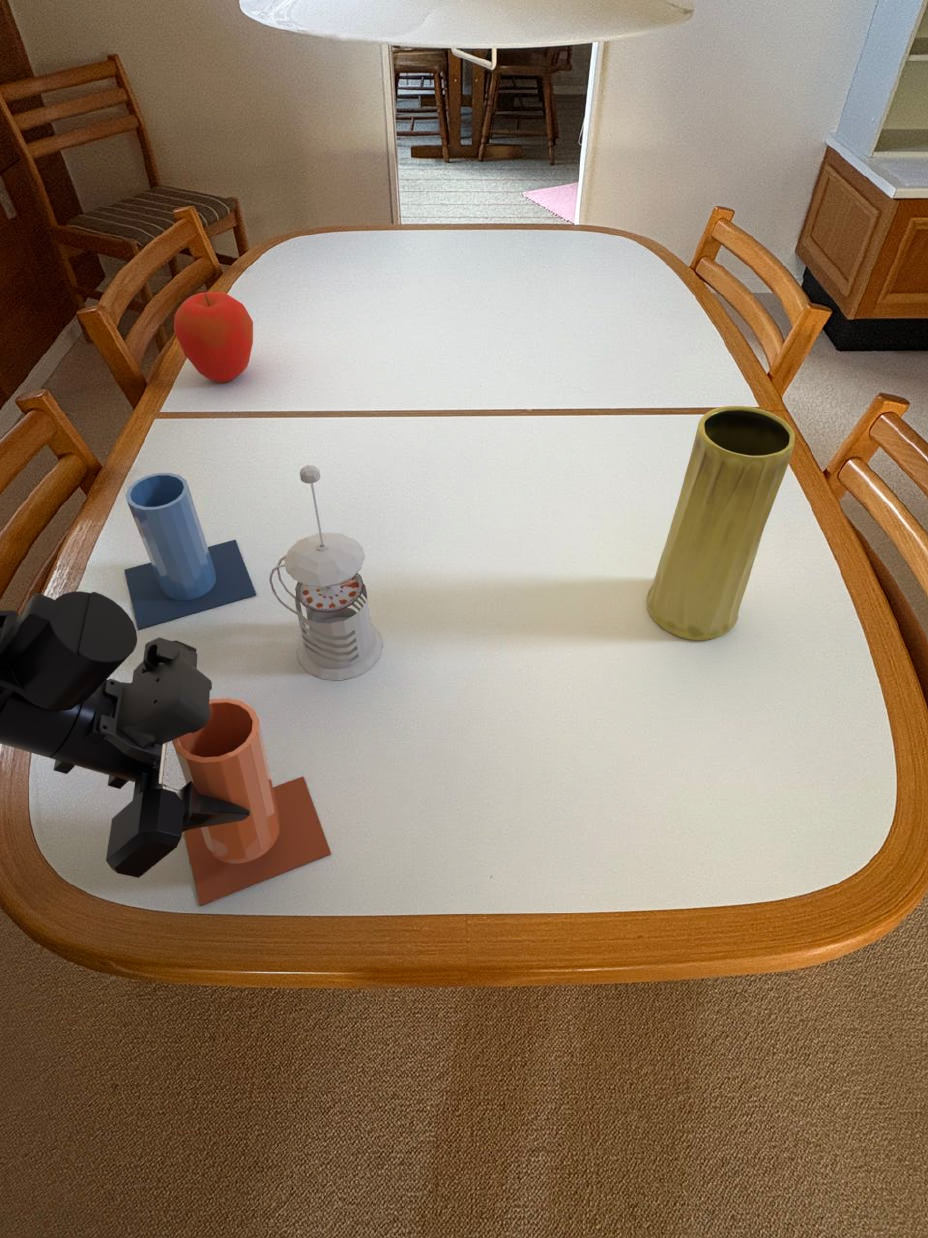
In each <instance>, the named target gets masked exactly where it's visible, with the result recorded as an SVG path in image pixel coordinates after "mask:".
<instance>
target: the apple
mask: <svg viewBox="0 0 928 1238" xmlns="http://www.w3.org/2000/svg"><path fill="white" fill-rule="evenodd" d="M173 330H174V333H175V336H176V339H177V341H178V343H179V345H180V348H181V350H182V352H183V354H184V356H185V357H186V359H187V360H188V361H189V362H190V364H192V366H193V367H194V368H195V369H196V371H197V372H198V374H200V375H202V377H204V378H207V379H209V380H210V381H213V382H215V383H219V384H226V383H229V382H232V381H234V380H235V379H237V377H239V376H240V375H241V374H242V373H243V372H244V371H245V370H246V369H247V368H248V366H249V363H250V358H251V355H252V354H251V353H252V349H253V344H254V321H253V319H252V317H251V315H250V314H249V311H248V310H247V308H246V306H245V305H244V304H243V303H242V302H240V301H239V300H238V299H236V298H234V297H232V296H231V295H230V294H228V293H225V292H221V291H207V292H206V291H205V292H198V293H195V294H194V295H190V296H189V297H188V298H186V299H185V300H184V301H183V302H182V303H181V304H180V306H179V307H178V308H177V310H176V312H175V314H174V322H173Z"/></svg>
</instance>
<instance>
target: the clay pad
mask: <svg viewBox="0 0 928 1238" xmlns="http://www.w3.org/2000/svg"><path fill="white" fill-rule="evenodd" d="M273 790H274V795H275V800H276V804H277V809H278V814H279V822H280V831H279V835H278V837H277V840H276V841H275V843H274V845H273V846H272V847H271V848H270V849H269V850H268V851H267V852H266V853H265V854H263V855H262V856H260V857H259V858H257V859H255V860H252V861H249V862H245V863H238V864H233V863H226V862H223V861H220V860H218V859H217V858H215V857H214V856H213V855H212V854H211V853H210V852H209V851H208V849H207V847H206V844H205V841H204V838H203V835H202V832H201V829H200V828H197V829H191V830H187V831H183V832H182V833H183V836H184V840H185V845H186V849H187V854H188V857H189V863H190V867H191V871H192V876H193V880H194V884H195V889H196V892H197V897H198V898H197V899H198V902H199V906H200V907H202V906H205V905H207V904H210V903H212V902H215V901H217V900H221V899H223V898H225V897H228V896H230V895H232V894H235V893H237V892H241V891H242V890H245V889H248V888H250V887H252V886H255V885H257V884H260V883H262V882H264V881H268V880H270V879H272V878H275V877H278V876H280V875H283V874H285V873H287V872H290V871H292V870H295V869H298V868H300V867H302V866H305V865H308V864H310V863H313V862H314V861H318V860H320V859H323V858H325V857H328V856H330V855H332V852H331V849H330V847H329V844H328V841H327V837H326V835H325V832H324V830H323V827H322V824H321V821H320V818H319V816H318V813H317V810H316V808H315V804H314V802H313V799H312V795H311V793H310V791H309V789H308V785H307V782H306V780H305V776H304V775H302V776H300V777H297V778H293V779H292V780H288V781H286V782H283V783H281V784H277V785H275V786H273Z"/></svg>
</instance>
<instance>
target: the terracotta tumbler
mask: <svg viewBox="0 0 928 1238" xmlns="http://www.w3.org/2000/svg"><path fill="white" fill-rule="evenodd" d="M209 708H210V719H209V721H208V723H207V724H206V725H205V726H204V727H203V728H202V729H201V730H199V731H197V732H195V733H188V734H185V735H183V736H181V737H179V738H176V739H174V740H172V741H171V743H172V746H173V750H174V752H175V755H176V758H177V761H178V764H179V767H180V771H181V773H182V778H183V779H184V782H185V783H184V784H185V785H186V784H187V783H188V782H190V781H192V782H193V784H194V785H195V787H196V789H197V791H198V793H200V794H202V795H206V796H209V797H212V798H216V799H219V800H223V801H226V802H230V803H233V804H236V805H239V806H241V807H243V808H245V809H248V810H249V811H250V816H248V817H247V818H246V819H244V820H242V821H237V822H231V823H225V824H219V825H213V826H208V827H202V828H200V829H201V832H202V835H203V838H204V841H205V844H206V847H207V849H208V851H209V852H210V853H211V854H212V855H213V856H214V857H215V858H217V859H218V860H220V861H223V862H226V863H233V864H238V863H245V862H249V861H252V860H255V859H257V858H259V857H260V856H262V855H263V854H265V853H266V852H267V851H268V850H269V849H270V848H271V847H272V846H273V845H274V843H275V841H276V840H277V837H278V835H279V831H280V822H279V814H278V809H277V804H276V800H275V795H274V790H273V787H274V786H273V781H272V777H271V770H270V767H269V762H268V757H267V752H266V748H265V741H264V737H263V733H262V728H261V724H260V719H259V716H258V715H257V713H256V711H255V709H254V708H253V707H251V706H250V705H248V704H247V703H246V702H244V701H242V700H238V699H234V698H228V697H226V698H225V697H223V698H212V699H209Z"/></svg>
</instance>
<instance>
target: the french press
mask: <svg viewBox="0 0 928 1238" xmlns="http://www.w3.org/2000/svg"><path fill="white" fill-rule="evenodd" d="M299 477H300V481H301V482H302V483H304V484H310V488H311V494H312V498H313V505H314V510H315V516H316V521H317V528H318V532H319V533H315V534H310V535H309V536H306V537H304V538H301V539H299V540H297V542H296V543H294V544H293V545H292V546H291V547H290V548H289V549H288V551H287V553H286V554H285V555H283V556H282V557H281V558H280V559H279V561H278V562H277V564H276V566H275V567H274V568H272V570H271V572H270V574H269V579H268V580H269V584H270V588H271V591H272V593H273V594H274V596H275V598H276V599H277V600H278V602H279V603H280V604H281V605H282V606H283V607H284V608H286V609H287V610H288V611H290V612H292V613H293V614H295V615H297V619H298V624H299V627H300V632H301V636H300V638H299V642H298V644H297V647H296V654H297V659H298V663H299V664H300V665H301V666H302V667H303V669H304V670H305V671H306V672H307V673H308V674H310V675H312V676H314V677H316V678H319V679H320V680H329V681H336V682H337V681H343V680H349V679H353V678H356V677H358V676H360V675H362V674H363V673H365V672H367V671H369V670H371V669H372V667H373V666H374V665H375V664H376V663H377V662H378V660H379V659H380V658H381V654H382V650H383V648H384V647H383V646H384V643H383V639H382V636H381V632H380V631H379V630H378V629H377V628H376V627H375V626H374V625H373V624H372V622H371V621H372V620H371V612H370V605H369V598H368V592H367V588H366V585H365V583H364V580H363V577H362V576H361V574H359V572H360V571H361V569H362V568H363V565H364V562H365V558H366V555H365V551H364V548H363V546H362V545H361V544H360V543H359V542H358V541H357V540H356V539H355V538H353V537H351V536H349V535H346V534H344V533H339V532H328V531H327V532H322V528H321V521H320V515H319V510H318V504H317V499H316V492H315V486H314V483H317V482H319V481H320V480H321V472H320V469H319V468H318V467H317V466H316V465H312V464H307V465H305V466H303V467H302V468H301V469H300V470H299ZM283 561H284V563H283V564H282V562H283ZM280 568H284V569H285V572H286V573H287V574H288V575H289V576H290V577H291V579H292V580H294V581H296V585H295V588H294V591H295V594H293V593H292V592H291V591H289V589H288V588H287V586H286V585H285V583H284V581H283V579H282V577H281V571H280ZM275 572H277V577H278V581H279V582H280V583H281V586H282V587H283V588H284V590H285V591H286V593H287V594H288V595H290V597H292V598H293V599H294V603H295V609H293V608H292V607H290V606H289V605H287V604H286V603H285V602H283V600H282V599H281V598H280V597H279V596H278V594H277V592H276V590H275V588H274V584H273V575H274V573H275ZM360 600H361V601H360ZM355 603H357V604H358V605H359V606H360V607H359V606H358V605H357V604H355ZM301 605H302V606H303V607H304V608H305V609H304V610H305V613H306V616H304V615H303V614H304V613H303V610H302V606H301ZM351 606H352V607H354V608H355V609H356V610H357V611H356V610H355V609H353V608H351ZM306 626H308V627H306Z"/></svg>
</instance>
